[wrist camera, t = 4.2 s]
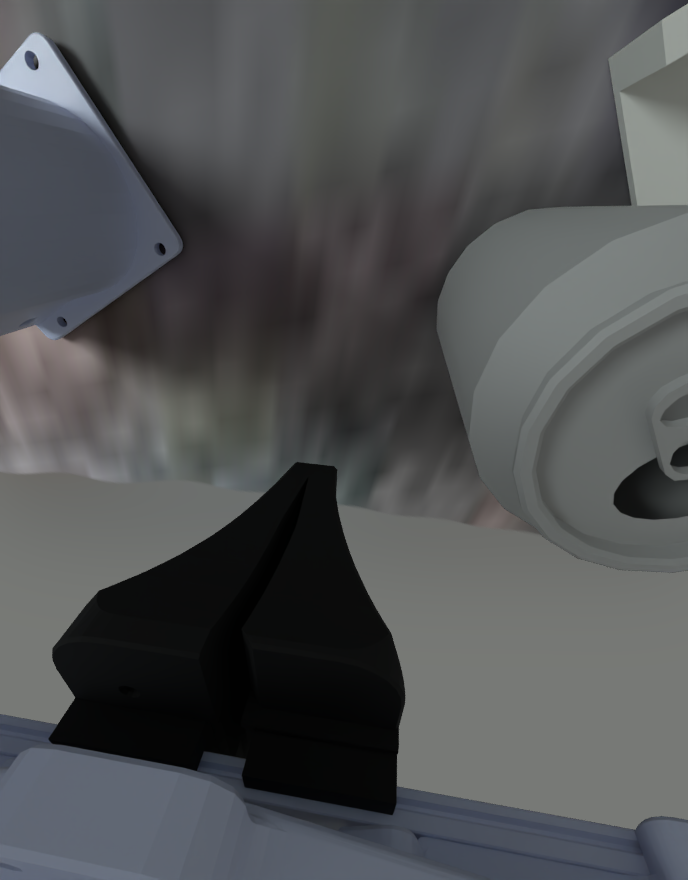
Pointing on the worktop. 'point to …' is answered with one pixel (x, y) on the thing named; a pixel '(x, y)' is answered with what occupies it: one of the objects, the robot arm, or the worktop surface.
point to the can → (579, 376)
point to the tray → (655, 111)
